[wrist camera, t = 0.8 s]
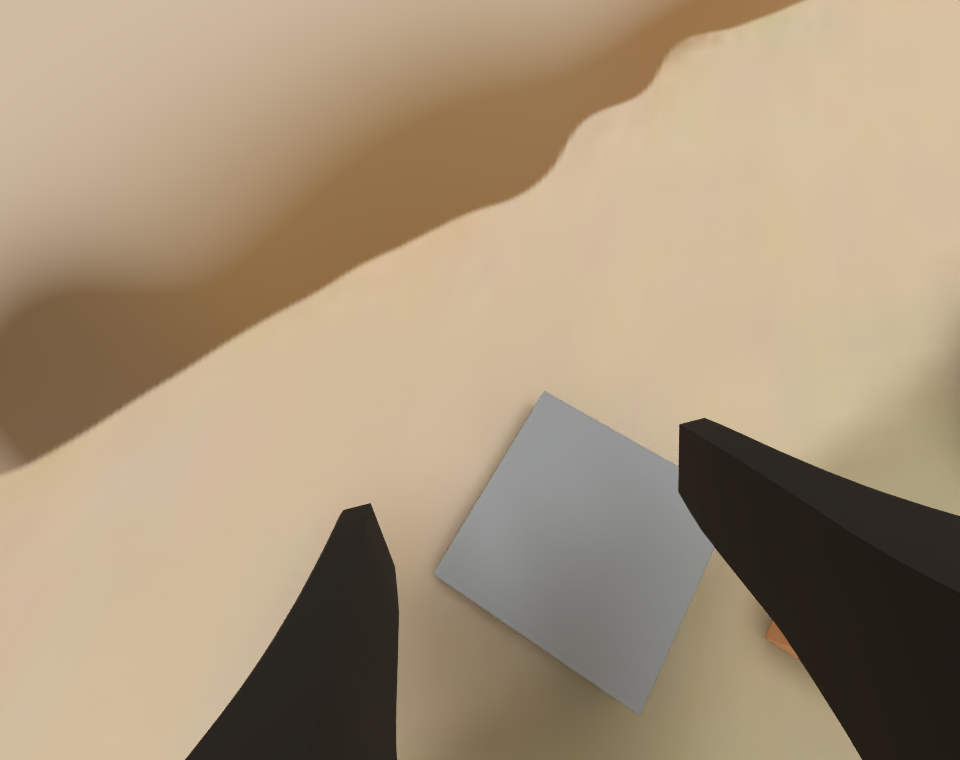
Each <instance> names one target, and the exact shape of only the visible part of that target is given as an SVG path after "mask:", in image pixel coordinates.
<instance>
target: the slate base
mask: <svg viewBox="0 0 960 760" xmlns="http://www.w3.org/2000/svg"><path fill="white" fill-rule="evenodd" d="M678 477H679V467H678V466H677V465H675V464H673V463H671V462H670V461H668V460H666V459H664V458H663V457H661V456H659V455H657V454H655V453H654V452H652V451H650V450H648V449H647V448H645V447H643V446H641V445H640V444H638V443H636V442H634V441H632V440H631V439H629V438H627V437H625V436H624V435H622V434H620V433H618V432H616V431H615V430H613V429H611V428H609V427H608V426H606V425H604V424H602V423H601V422H599V421H597V420H595V419H593V418H592V417H590V416H588V415H586V414H585V413H583V412H581V411H579V410H578V409H576V408H574V407H572V406H570V405H569V404H567V403H565V402H563V401H562V400H560V399H558V398H556V397H555V396H553V395H551V394H549V393H547V392H546V391H544V392H543V394H542V395H541V397H540V399H539V400H538V402H537V403H536V405H535V407H534V408H533V410H532V412H531V413H530V415H529V417H528V418H527V420H526V422H525V423H524V425H523V427H522V428H521V430H520V431H519V433H518V435H517V436H516V438H515V440H514V441H513V443H512V445H511V446H510V448H509V450H508V451H507V453H506V455H505V456H504V458H503V459H502V461H501V463H500V464H499V466H498V468H497V469H496V471H495V473H494V474H493V476H492V478H491V479H490V481H489V483H488V484H487V486H486V487H485V489H484V491H483V492H482V494H481V496H480V497H479V499H478V501H477V502H476V504H475V506H474V507H473V509H472V511H471V512H470V514H469V515H468V517H467V519H466V520H465V522H464V524H463V525H462V527H461V529H460V530H459V532H458V534H457V535H456V537H455V539H454V540H453V542H452V543H451V545H450V547H449V548H448V550H447V552H446V553H445V555H444V557H443V558H442V560H441V562H440V563H439V565H438V567H437V568H436V570H435V571H434V573H433V575H435V576H436V577H438V578H439V579H441V580H442V581H443V582H445V583H446V584H448V585H449V586H451V587H452V588H454V589H455V590H457V591H458V592H460V593H461V594H462V595H464V596H465V597H467V598H468V599H470V600H471V601H473V602H474V603H476V604H477V605H479V606H480V607H481V608H483V609H484V610H486V611H487V612H489V613H490V614H492V615H493V616H495V617H496V618H498V619H499V620H501V621H502V622H503V623H505V624H506V625H508V626H509V627H511V628H512V629H514V630H515V631H517V632H518V633H520V634H521V635H522V636H524V637H525V638H527V639H528V640H530V641H531V642H533V643H534V644H536V645H537V646H539V647H540V648H541V649H543V650H544V651H546V652H547V653H549V654H550V655H552V656H553V657H555V658H556V659H558V660H559V661H560V662H562V663H563V664H565V665H566V666H568V667H569V668H571V669H572V670H574V671H575V672H577V673H578V674H579V675H581V676H582V677H584V678H585V679H587V680H588V681H590V682H591V683H593V684H594V685H596V686H597V687H599V688H600V689H601V690H603V691H604V692H606V693H607V694H609V695H610V696H612V697H613V698H615V699H616V700H618V701H619V702H620V703H622V704H623V705H625V706H626V707H628V708H629V709H631V710H632V711H634V712H635V713H637V714H638V715H639V716H640V715H641V713H642V711H643V708H644V706H645V704H646V701H647V699H648V697H649V695H650V692H651V690H652V688H653V686H654V683H655V681H656V679H657V676H658V674H659V672H660V670H661V667H662V665H663V663H664V661H665V658H666V656H667V654H668V651H669V649H670V647H671V645H672V642H673V640H674V638H675V636H676V633H677V631H678V629H679V626H680V624H681V622H682V620H683V617H684V615H685V613H686V610H687V608H688V606H689V604H690V601H691V599H692V597H693V595H694V592H695V590H696V588H697V585H698V583H699V581H700V579H701V576H702V574H703V572H704V570H705V567H706V565H707V563H708V560H709V558H710V556H711V554H712V551H713V549H714V546H713V544H712V543H711V542H710V541H709V539H708V538H707V537H706V536H705V534H704V533H703V532H702V530H701V529H700V527H699V526H698V524H697V522H696V521H695V519H694V518H693V516H692V515H691V513H690V511H689V510H688V508H687V506H686V504H685V503H684V501H683V499H682V498H681V496H680V494H679V492H678Z"/></svg>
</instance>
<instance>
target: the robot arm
mask: <svg viewBox="0 0 960 760" xmlns="http://www.w3.org/2000/svg"><path fill="white" fill-rule="evenodd" d="M678 492H679V494H680V496H681V498H682V499H683V501H684V503H685V504H686V506H687V508H688V510H689V511H690V513H691V515H692V516H693V518H694V519H695V521H696V522H697V524H698V526H699V527H700V529H701V530H702V532H703V533H704V534H705V536H706V537H707V538H708V539H709V541H710V542H711V543H712V544H713V546H714V547H715V548H716V550H717V551H718V552H719V553H720V555H721V556H722V557H723V558H724V560H725V561H726V562H727V563H728V565H729V566H730V567H731V568H732V570H733V571H734V572H735V573H736V575H737V576H738V577H739V578H740V580H741V581H742V582H743V583H744V585H745V586H746V587H747V588H748V590H749V591H750V592H751V593H752V595H753V596H754V597H755V598H756V600H757V601H758V602H759V603H760V605H761V606H762V607H763V608H764V610H765V611H766V612H767V613H768V615H769V616H770V617H771V619H772V620H773V621H774V623H775V624H776V625H777V627H778V628H779V630H780V631H781V632H782V634H783V635H784V636H785V638H786V640H787V641H788V643H789V644H790V646H791V647H792V649H793V650H794V652H795V653H796V655H797V656H798V658H799V659H800V661H801V662H802V664H803V665H804V667H805V668H806V670H807V671H808V673H809V674H810V676H811V677H812V679H813V680H814V682H815V684H816V685H817V687H818V688H819V690H820V692H821V693H822V695H823V696H824V698H825V700H826V701H827V703H828V704H829V706H830V708H831V709H832V711H833V712H834V714H835V716H836V717H837V719H838V720H839V722H840V723H841V725H842V727H843V728H844V730H845V732H846V733H847V735H848V737H849V738H850V740H851V742H852V743H853V745H854V747H855V748H856V750H857V752H858V753H859V755H860V757H861V758H862V760H960V516H958V515H954V514H950V513H947V512H944V511H940V510H937V509H933V508H930V507H927V506H924V505H921V504H917V503H914V502H911V501H908V500H905V499H902V498H899V497H896V496H893V495H890V494H887V493H884V492H881V491H878V490H875V489H872V488H869V487H867V486H864V485H861V484H859V483H856V482H853V481H851V480H848V479H846V478H843V477H841V476H838V475H835V474H833V473H830V472H828V471H825V470H823V469H820V468H818V467H815V466H813V465H811V464H808V463H806V462H803V461H801V460H799V459H796V458H794V457H792V456H790V455H787V454H785V453H783V452H780V451H778V450H776V449H774V448H771V447H769V446H767V445H765V444H763V443H760V442H758V441H756V440H754V439H752V438H749V437H747V436H745V435H743V434H741V433H738V432H736V431H734V430H732V429H730V428H727V427H725V426H723V425H720V424H718V423H716V422H713V421H711V420H708V419H706V418H703V419H699V420H695V421H691V422H687V423H683V424H680V425H679V477H678ZM398 628H399V607H398V595H397V584H396V573H395V566H394V563H393V561H392V558H391V555H390V553H389V550H388V547H387V545H386V542H385V540H384V537H383V534H382V532H381V529H380V527H379V524H378V521H377V519H376V516H375V514H374V511H373V508H372V506H371V503H370V504H366V505H362V506H358V507H354V508H350V509H346V510H343V512H342V513H341V514H340V516H339V518H338V520H337V522H336V525H335V527H334V529H333V531H332V533H331V535H330V537H329V539H328V541H327V543H326V545H325V547H324V549H323V551H322V553H321V555H320V557H319V559H318V561H317V563H316V565H315V567H314V569H313V571H312V573H311V574H310V576H309V578H308V580H307V582H306V584H305V586H304V587H303V589H302V591H301V593H300V595H299V597H298V598H297V600H296V602H295V604H294V605H293V607H292V609H291V610H290V612H289V614H288V615H287V617H286V619H285V620H284V622H283V624H282V625H281V627H280V629H279V630H278V632H277V634H276V635H275V637H274V639H273V640H272V642H271V643H270V645H269V647H268V648H267V650H266V651H265V653H264V654H263V656H262V657H261V659H260V660H259V662H258V663H257V665H256V666H255V668H254V669H253V671H252V672H251V674H250V675H249V676H248V678H247V679H246V681H245V682H244V684H243V685H242V686H241V688H240V689H239V691H238V692H237V694H236V695H235V696H234V698H233V699H232V700H231V702H230V703H229V704H228V706H227V707H226V708H225V710H224V711H223V712H222V713H221V715H220V716H219V717H218V719H217V720H216V721H215V723H214V724H213V725H212V726H211V728H210V729H209V730H208V732H207V733H206V734H205V735H204V737H203V738H202V739H201V740H200V742H199V743H198V744H197V746H196V747H195V748H194V749H193V751H192V752H191V753H190V754H189V756H188V757H187V758H186V759H185V760H397V753H396V698H397V665H398Z"/></svg>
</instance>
